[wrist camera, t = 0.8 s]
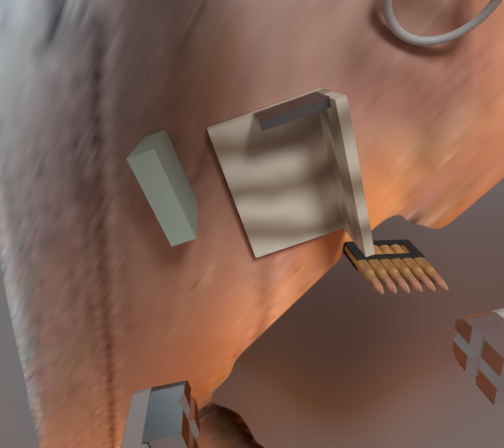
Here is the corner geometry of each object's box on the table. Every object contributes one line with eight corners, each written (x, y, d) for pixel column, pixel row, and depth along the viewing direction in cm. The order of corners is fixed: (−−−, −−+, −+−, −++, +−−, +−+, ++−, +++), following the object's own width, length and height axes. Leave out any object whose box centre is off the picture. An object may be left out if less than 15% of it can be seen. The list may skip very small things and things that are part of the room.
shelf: (207, 127, 43) (206, 145, 35) (319, 87, 43) (346, 95, 34) (254, 252, 52) (263, 291, 44) (348, 221, 52) (375, 254, 43)
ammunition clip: (342, 252, 54) (374, 300, 43) (344, 241, 53) (377, 288, 43) (405, 249, 55) (452, 296, 45) (408, 239, 54) (456, 284, 44)
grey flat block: (178, 211, 48) (171, 246, 39) (143, 137, 43) (126, 158, 34) (198, 204, 48) (196, 238, 39) (165, 129, 43) (154, 148, 34)
